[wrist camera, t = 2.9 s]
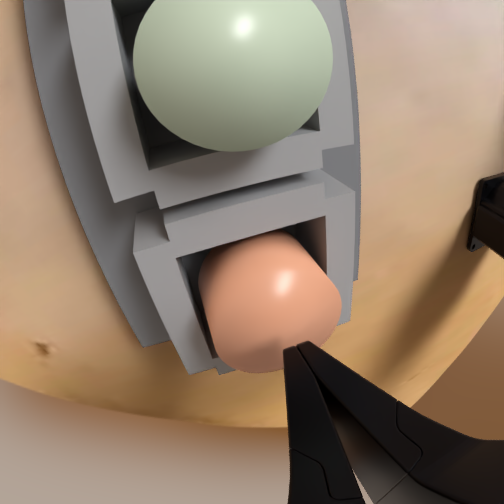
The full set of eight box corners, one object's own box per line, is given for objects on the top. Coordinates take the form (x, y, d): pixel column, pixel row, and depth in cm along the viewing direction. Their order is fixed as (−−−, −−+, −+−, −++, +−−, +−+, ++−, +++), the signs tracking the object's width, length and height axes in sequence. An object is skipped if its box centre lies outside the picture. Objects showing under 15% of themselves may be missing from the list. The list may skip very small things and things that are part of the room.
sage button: (273, -10, 7) (318, -35, 5) (292, 116, 10) (340, 133, 7) (128, 12, 7) (118, -15, 4) (157, 146, 9) (158, 173, 7)
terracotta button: (302, 212, 12) (343, 254, 9) (308, 300, 14) (339, 347, 12) (184, 245, 11) (197, 299, 9) (212, 331, 13) (229, 386, 11)
